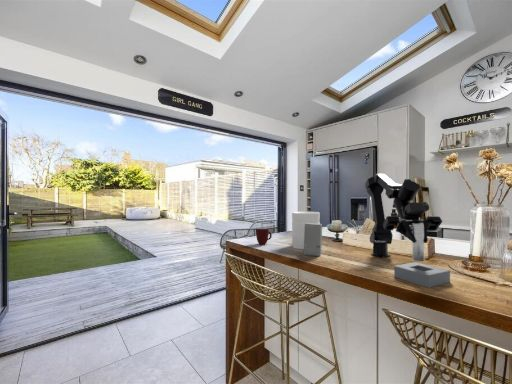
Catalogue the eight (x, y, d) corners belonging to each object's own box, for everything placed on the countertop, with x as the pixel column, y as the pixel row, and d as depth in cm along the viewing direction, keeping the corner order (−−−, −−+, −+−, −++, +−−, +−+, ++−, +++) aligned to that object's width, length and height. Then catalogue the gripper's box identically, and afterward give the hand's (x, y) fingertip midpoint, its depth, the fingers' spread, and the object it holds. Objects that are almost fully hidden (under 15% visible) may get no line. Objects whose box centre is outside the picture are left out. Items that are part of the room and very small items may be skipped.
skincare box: (303, 255, 124) (303, 223, 124) (306, 252, 131) (306, 222, 131) (320, 256, 121) (320, 224, 121) (322, 253, 128) (322, 222, 128)
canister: (313, 243, 154) (313, 211, 154) (324, 248, 138) (324, 213, 138) (288, 244, 151) (288, 211, 152) (297, 250, 136) (297, 213, 136)
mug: (266, 242, 159) (266, 226, 159) (274, 244, 152) (274, 227, 152) (253, 244, 152) (253, 228, 152) (261, 246, 146) (261, 229, 146)
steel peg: (413, 258, 91) (413, 222, 91) (425, 259, 88) (424, 223, 88) (411, 260, 88) (411, 223, 88) (423, 261, 86) (423, 224, 86)
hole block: (415, 272, 96) (415, 262, 96) (450, 282, 85) (449, 270, 85) (394, 276, 91) (394, 265, 91) (428, 287, 80) (428, 275, 80)
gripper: (385, 194, 93) (399, 228, 82) (438, 194, 91) (460, 228, 80) (378, 213, 101) (389, 246, 90) (426, 214, 99) (445, 247, 88)
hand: (420, 242), depth 87 cm, fingers closed on steel peg, 3 cm apart
